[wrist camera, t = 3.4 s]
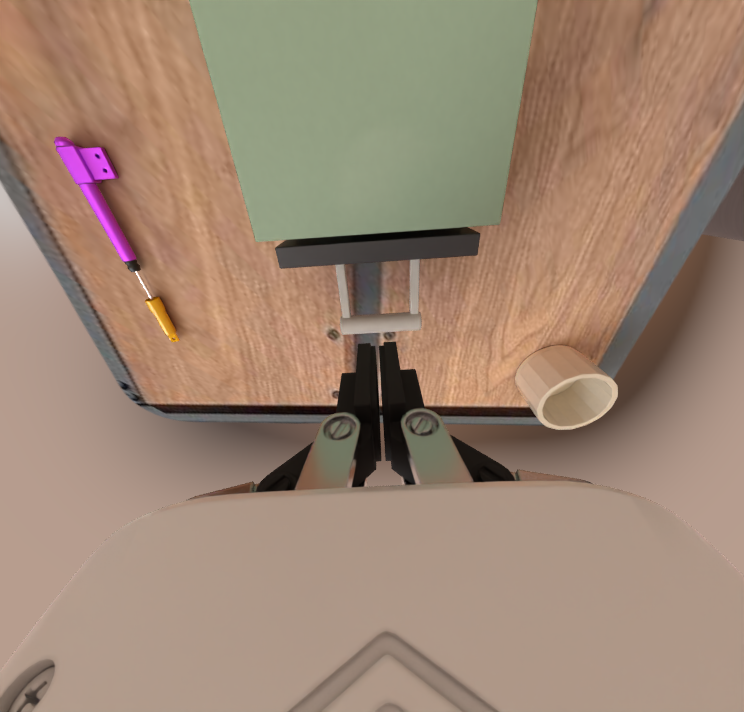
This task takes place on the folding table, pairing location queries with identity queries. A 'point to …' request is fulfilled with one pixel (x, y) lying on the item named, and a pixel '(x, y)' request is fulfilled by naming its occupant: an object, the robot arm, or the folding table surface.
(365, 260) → the dark grey drawer
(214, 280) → the folding table surface
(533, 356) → the ramekin
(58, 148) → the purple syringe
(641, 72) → the folding table surface
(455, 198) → the mini drawer cabinet
